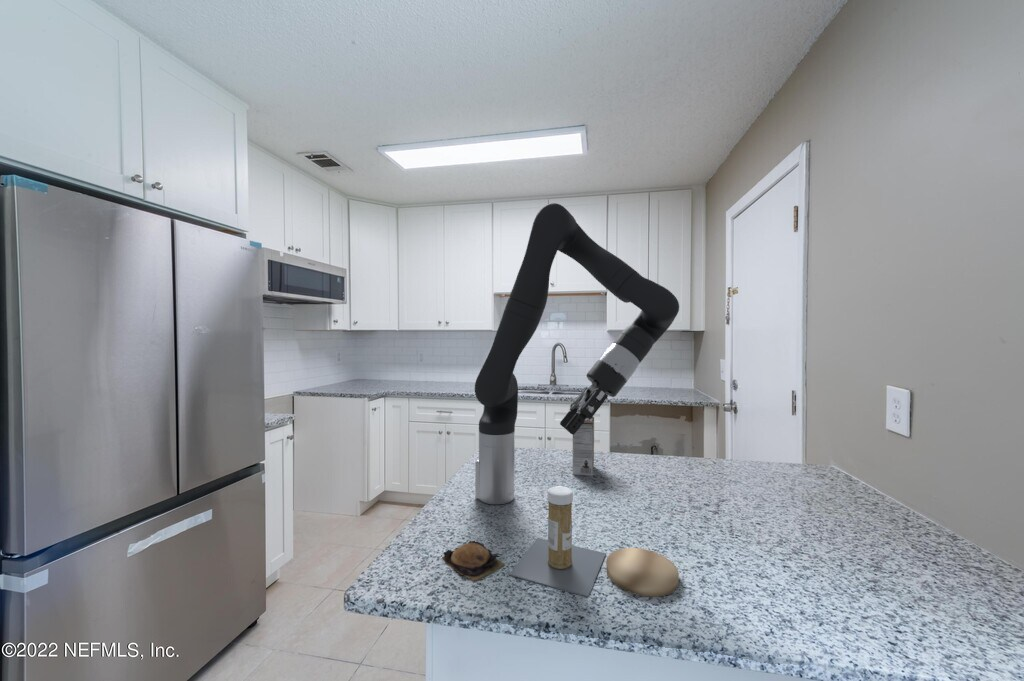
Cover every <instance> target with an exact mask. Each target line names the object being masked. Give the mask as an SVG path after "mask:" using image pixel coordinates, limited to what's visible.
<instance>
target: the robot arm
mask: <svg viewBox="0 0 1024 681" xmlns="http://www.w3.org/2000/svg"><path fill="white" fill-rule="evenodd" d="M557 252H561V253H562V254H564V255H566V256H568V258H569V257H570V258H571V259H572V260H574V261H575V262H577V263H578V264H579V265H581V267H582V268H584V269H585V270H586V271H587V273H589V274H590V275H591V276H592V277H593V278H594V279H595V280H596V281H597V282H598V283H599V284H601V285H602V286H603V287H604V288H605V289H606V290H607V291H608V292H610V293H611V294H612V295H613V296H615V297H616V298H617V299H618V300H620V301H622V302H623V303H626V304H627V303H631V304H633V305H634V306H636V307H637V308H638V309H640V310H641V311H640V312H639V314H638V315H637V316H636V318H635V319H634V320H633V321H632V323H631V324H630V325H627V327H625V328H624V329H623V330H622V332H620V334H619V335H618V336H617V337H616V339H615V340H614V341H613V343H612V344H610V345H609V347H607V348H606V349H605V351H604V352H603V353H602V354H601V356H599V358H598V359H597V361H596V362H595V363H594V364H593V366H592V367H591V368H590V369H589V370H588V371H587V373H586V378H587V380H588V381H589V382H590V383H591V385H590V386H589V387H587V386H586V387H584V388H583V389H582V391H581V392H580V393H579V395H577V397H576V398H575V399H574V401H573V402H572V403H571V404H570V405H569V409H568V410H569V411H568V412H567V413H566V414H565V415H564V417H563V418H562V419H561V420H560V421H559V424H560V426H561V427H562V428H564V429H565V431H567V432H568V433H570V434H571V435H572V436H573V435H574V434H575V433H576V432H577V430H578V429H579V428H580V427H581V425H582V424H583V423H584V422H585V421H587V420H588V419H591V418H592V417H594V415H595V414H596V413H597V411H598V410H599V409H600V408H601V406H602V405H603V404H604V403H605V401H606V400H607V399H608V397H612V398H616V396H617V395H618V394H619V392H620V391H621V390H622V389H623V387H624V386H625V385H626V384H627V382H628V381H629V380H630V378H631V377H632V376H633V374H634V373H635V372H636V371H637V368H638V367H639V365H640V364H641V362H642V361H643V360H644V359H645V357H646V356H647V355H648V354H649V352H650V351H651V349H652V347H653V346H654V344H655V343H656V342H657V341H659V339H660V338H661V337H662V336H663V335H664V333H666V331H667V330H668V329H669V328H670V327H671V325H672V324H673V323H674V320H675V319H676V318H677V316H678V314H679V311H680V304H679V303H680V302H679V301H678V299H677V298H678V297H676V296H675V294H673V292H671V291H670V290H669V289H668V288H666V287H664V286H663V285H661V284H659V283H656V282H655V281H653V280H652V279H651V280H650V279H648V278H646V277H644V276H642V275H641V274H640V273H639V272H638V271H636V270H635V269H634V268H633V267H632V266H630V264H628V263H627V262H625V260H624V261H623V259H621V258H619V256H616V255H614V253H612V252H610V251H609V250H607V249H606V248H604V247H602V246H601V245H599V244H598V243H597V242H596V241H594V240H593V239H592V238H591V237H590V236H589V235H588V234H587V233H586V231H584V229H583V228H582V227H581V226H580V225H579V223H577V221H576V218H575V217H574V216H573V215H572V214H571V212H570V211H569V210H568V209H567V208H565V206H563V205H561V204H560V203H556V202H555V203H554V202H551V203H548V204H545V205H544V206H543V207H542V208H541V209H540V210H539V211H538V213H537V214H536V216H535V217H534V220H533V222H532V226H531V231H530V233H529V237H528V242H527V245H526V249H525V253H524V256H523V260H522V262H521V265H520V267H519V270H518V272H517V275H516V278H515V280H514V283H513V287H512V288H511V291H510V294H509V295H508V296H509V297H508V299H507V302H506V305H505V307H504V310H503V313H502V317H501V320H500V322H499V324H498V328H497V331H496V333H495V337H494V339H493V342H492V346H491V348H490V350H489V353H488V355H487V357H486V358H485V361H484V362H483V365H482V367H481V369H480V371H479V373H478V375H477V377H476V379H475V382H474V393H475V394H474V395H475V397H476V400H477V401H478V402H479V403H480V404H481V405H483V406H484V407H483V412H482V414H481V417H480V418H479V421H478V459H477V460H475V467H474V468H475V473H474V475H475V476H474V478H475V482H474V483H475V485H474V486H475V489H474V490H475V495H474V496H475V497H474V498H475V499H478V500H479V501H481V502H482V503H484V504H489V505H502V504H508V503H510V502H512V501H513V500H514V499H515V468H516V467H515V466H516V465H515V463H516V462H515V451H516V450H515V449H516V448H515V447H516V446H515V445H516V444H515V443H516V442H515V440H516V438H515V437H516V436H515V428H516V421H517V417H518V408H519V407H518V402H519V386H518V380H517V377H516V376H515V374H514V371H515V368H516V364H517V361H518V360H519V357H521V354H522V352H523V351H524V349H525V348H526V346H527V345H528V343H529V342H530V340H531V339H532V337H533V336H534V334H535V332H536V331H537V328H538V326H539V325H540V321H541V320H542V317H543V314H544V311H545V308H546V307H547V306H546V305H547V302H548V296H549V295H548V294H549V287H550V286H549V285H550V277H551V276H550V274H551V269H552V265H553V262H554V260H555V258H556V255H557V254H558V253H557ZM584 420H585V421H584Z"/></svg>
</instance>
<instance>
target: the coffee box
mask: <svg viewBox="0 0 1024 681" xmlns="http://www.w3.org/2000/svg"><path fill="white" fill-rule="evenodd" d="M584 421H585V420H584ZM594 453H595V417H594V416H593V417H592V418H591V419H588V420H587V421H585V422H584V423H583V424H582V425H581V427H580V428H579V429H578V430H577V432H576V433H575V434H574V435H572V464H571V465H572V468H571V469H572V475H574V476H575V475H577V476H589V477H590V476H591V477H593V476H594V467H595V465H594V463H595V462H594V461H595V454H594Z"/></svg>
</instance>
